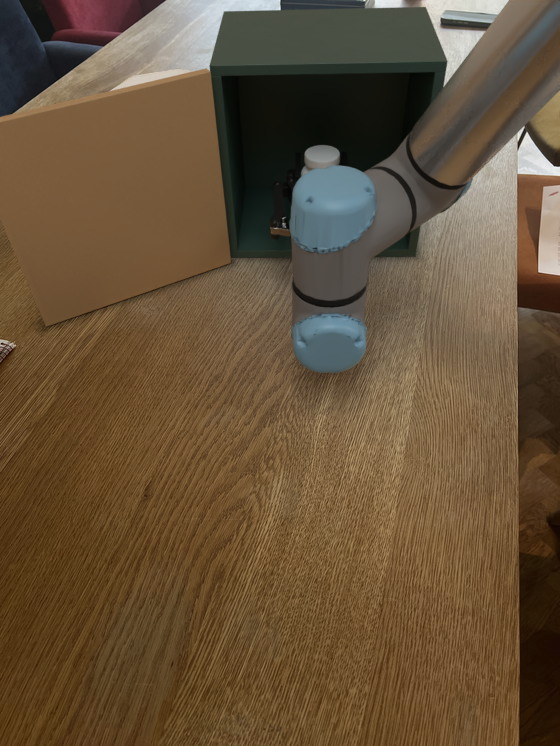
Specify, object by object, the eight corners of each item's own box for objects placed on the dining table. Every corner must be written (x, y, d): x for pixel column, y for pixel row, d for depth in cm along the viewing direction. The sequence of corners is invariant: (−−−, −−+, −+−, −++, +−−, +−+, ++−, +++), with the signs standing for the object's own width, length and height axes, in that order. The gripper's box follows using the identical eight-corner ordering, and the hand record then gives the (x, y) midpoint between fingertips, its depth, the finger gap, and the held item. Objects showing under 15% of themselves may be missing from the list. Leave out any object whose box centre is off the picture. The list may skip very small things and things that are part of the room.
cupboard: (415, 256, 87) (447, 60, 67) (230, 257, 88) (209, 65, 68) (401, 189, 99) (426, 6, 79) (239, 190, 100) (223, 11, 81)
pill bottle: (330, 233, 85) (332, 167, 78) (293, 223, 87) (292, 158, 80) (347, 213, 88) (351, 148, 81) (312, 203, 90) (312, 139, 83)
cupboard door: (33, 296, 83) (-48, 104, 64) (211, 237, 91) (186, 51, 72) (46, 327, 79) (-38, 130, 60) (231, 262, 87) (210, 71, 68)
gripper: (247, 286, 74) (256, 186, 90) (402, 285, 74) (384, 184, 89) (242, 234, 69) (253, 137, 85) (410, 232, 68) (390, 134, 84)
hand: (320, 161), depth 87 cm, fingers closed on pill bottle, 6 cm apart
